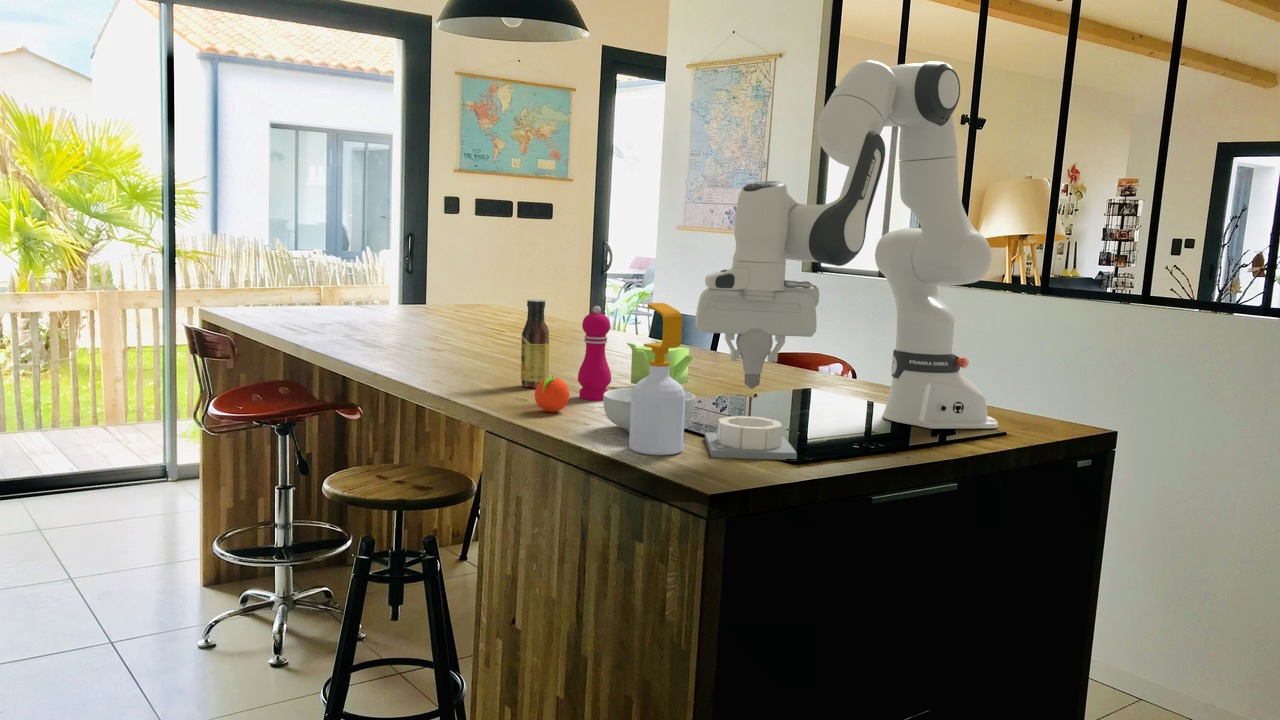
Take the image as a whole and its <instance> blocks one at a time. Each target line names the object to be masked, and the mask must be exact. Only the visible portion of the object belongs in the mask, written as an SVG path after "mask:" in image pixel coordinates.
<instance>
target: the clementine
mask: <svg viewBox="0 0 1280 720" xmlns="http://www.w3.org/2000/svg"><path fill="white" fill-rule="evenodd" d="M569 399H570V388H569V387H568V385H567V383H566V382H565V381H564V380H562V379H561V378H558V377H554V376H552V377H548V378H545V379H544V380H542V381H541V382H540V383H539V384H538V385H537V387H536V388H534V400H535V403H536V404H537V406H538V407H539V408H540V409H541V410H543V411H545V412H547V413H556V412H560V411H561V410H563V409H564V408H565V407H566V406H567V405H568V402H569Z"/></svg>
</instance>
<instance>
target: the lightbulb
mask: <svg viewBox="0 0 1280 720" xmlns="http://www.w3.org/2000/svg"><path fill="white" fill-rule="evenodd" d="M736 335H737V336H736V341H735V343H736V348H737V349H738V350H739V351H740V359H741V360H742V367H743V369H742V370H743V373H744V385H745V386H747V387H748V389H751V390H753V389H756V387H758V386H759V385H760V384H761V383H760V382H761V374H762V373H763V369H764V363H765V361H766V360H767V357H768V354H769V352H770V351H772V348H773V344H774V343H773V342H774V340H773V335H769V334H767V333H766V332H765V331H763V330H761V329H750V330H748V331H747V332H745V333H744V334H736Z"/></svg>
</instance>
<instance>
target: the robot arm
mask: <svg viewBox="0 0 1280 720" xmlns="http://www.w3.org/2000/svg"><path fill="white" fill-rule="evenodd" d="M960 96H961V83H960V79H959V76H958V74H957V72H956V71H955V69H954V68H953V67H952V66H951V65H950V64H949V63H946V62H943V61H931V60H930V61H926V62H921V63H919V62H916V63H902V64H897V65H895V66H890V67H889V66H887V65H885V64H884V63H882V62H880V61H876V60H863V61H859V62H858V63H857V64H855V65H853V66H852V67H851V68H850V70H848V72H847V73H846V74H845V75H844V77H843V78H842V79H841V80H840V81H839V83H838V85H837V86H836V87H835V88H834V90H833V92H832V93H831V95H830V97H829V99H828V101H827V103H826V104H825V106H824V107H823V110H822V112H821V113H820V115H819V118H818V121H817V125H816V135H817V136H816V137H817V139H818V140H817V141H818V142H819V146H821V148H822V150H823V151H824V152H825V154H827V156H828V157H830V158H831V159H832V160H834V161H835V162H837V163H838V164H841V165H844V166H845V167H848V170H847V173H846V176H845V179H844V182H843V185H842V189H841V192H840V195H839V197H838V198H836V199H835V200H834V201H831V202H829V203H825V204H803V203H800V202H799V201H797V200H796V199H794V198H793V197H792V196H791V195H790V194H789V193H788V188H787V185H786V183H784V182H781V181H775V180H773V181H772V180H771V181H769V180H768V181H767V180H766V181H757V182H752V183H748V184H745V185H744V186H743V187H742V188H741V190H740V192H739V195H738V198H737V203H736V204H737V205H736V209H735V216H734V229H733V230H734V231H733V232H734V234H733V235H734V239H735V252H734V254H733V258H732V266H731V268H728V269H722V270H720V271H717V272H713V273H710V274H707V275H706V276H705V280H704V282H705V286H706V287H707V288H705V289H704V290H703V291H702V292H701V294H700V295H699V299H698V303H697V307H696V312H695V313H696V314H695V323H694V324H695V328H696V329H697V330H698V331H699V332H700V333H707V334H724V340H725V342H726V344H727V346H728V347H729V349H730V353H729V354H730V356H729V357H730V361H732V362H734V361H735V362H740V361H741V355H740V351H739V350H738V349H736V348H735V346H734V345H733V343H732V341H735V335H738V334H744V333H745V332H747V331H748V330H750V329H761V330H763V331H765V332H766V333H767V334H769V335H771V336H774V337H775V338H774V341H775V342H777V343H776V344H775V346H774V347H773V349H771V350H770V352H769V354H768V356H767V357H766V362H768V363H777V362H778V354H779V352H780V351H781V349H782V348H783V347H784V345H785V344H786V337H802V338H803V337H804V338H806V337H807V338H808V337H809V338H810V337H811V338H812V337H813V336H814V335H815V333H817V328H818V327H817V325H818V324H817V323H818V321H817V309H816V308H817V306H818V305H819V302H820V290H819V287H817V285H815V284H813V283H812V282H811V281H807V280H804V281H796V280H786V266H787V260H788V261H797V262H812V263H821V264H825V265H831V266H836V267H841V266H846V265H847V264H848V263H850V262H851V261H853V260H854V259H855V258H856V257H857V255H859V254H860V252H861V250H862V249H863V246H864V243H865V239H866V232H867V225H868V224H867V223H868V218H869V215H870V211H871V208H872V205H873V202H874V198H875V195H876V193H877V189H878V186H879V182H880V178H881V176H882V172H883V168H884V164H885V159H886V145H885V141H884V139H883V138H882V136H881V133H882V131H883V129H884V127H899V128H900V129H899V131H900V132H899V141H898V143H899V146H898V160H899V161H898V163H899V164H898V166H899V192H900V193H899V194H900V199H901V201H902V203H903V204H904V206H906V207H907V208H908V209H909V210H911V211H912V212H913V213H914V215H915V217H916V218H917V221H918V223H919V226H920V227H917V228H915V227H907V228H906V227H905V228H900V229H896V230H892V231H889V232H886V233H885V234H883V235H882V236H881V237H880V239H879V241H878V242H877V245H876V247H875V251H874V259H875V265H876V266H877V269H878V270H879V272H880V274H882V275H883V276H884V277H885V278H886V280H887V282H888V284H889V285H890V288H891V291H892V294H893V297H894V302H895V308H896V317H897V318H896V341H895V348H894V349H893V353H892V358H891V370H890V371H891V376H892V377H891V378H892V379H891V386H890V391H889V394H888V399H887V401H886V405H885V408H884V410H883V413H882V418H884V419H886V420H888V421H892V422H896V423H901V424H906V425H912V426H917V427H922V428H926V429H935V430H937V429H939V430H940V429H943V430H944V429H997V428H998V427H999V423H998V420H996V419H995V418H994V417H992V416H989V415H988V409H987V408H988V407H987V401H986V397H985V394H984V393H983V392H982V391H981V390H980V389H979V388H978V387H976V385H975V384H973V383H972V382H971V381H970V380H969V379H968V378H966V376H964V375H963V374H962V373H961V372H960V369H961V368H963V369H966V368H967V367H968V366H969V364H970V362H969V361H970V360H969V359H968V358H966V357H964V356H957V355H956V354H954V353H953V346H954V345H953V344H954V341H953V340H954V330H955V329H954V328H955V316H954V312H953V311H952V310H951V308H950V307H948V306H947V305H946V304H945V303H944V302H943V301H942V298H941V296H940V294H939V289H938V285H945V286H962V285H968V284H973V283H977V282H979V281H981V280H982V279H983V278H984V277H985V276H986V274H987V273H988V271H989V269H990V266H991V263H992V250H991V249H992V248H991V246H990V244H989V241H988V240H987V239H986V237H984V236H983V235H982V234H981V233H980V232H979V231H977V229H976V228H975V226H973V223H971V221H970V219H969V216H968V215H967V213H966V209H965V208H964V205H963V202H962V199H961V193H960V184H959V164H958V163H959V161H958V159H959V158H958V143H957V142H958V141H957V135H956V128H955V122H954V117H953V113H954V111H955V110H956V108H957V106H958V103H959V101H960V100H959V99H960Z"/></svg>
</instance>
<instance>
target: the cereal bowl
mask: <svg viewBox="0 0 1280 720" xmlns="http://www.w3.org/2000/svg"><path fill="white" fill-rule="evenodd" d="M632 389H633V387H622V388H621V387H620V388H614V389H610V390H608V391H607V392H605V393H604V394H603V400H602V401H603V409H604V413H605V414H606V415H605V416H606V418H608V420H609V421H610V422H611V423H612V424H614V425H616V426H618V427H620V428H623V429H625V430H626V432H628V433H629V434H630V411H631V391H632ZM684 391H685V390H684ZM685 394H686V398H685V419H684V425H686V424H687V423H688V422H689V421H690V420H691V419H692V417H693V416H694V413H695V408H696V398H697V397H696V395H695V394H694V393H692V392H689V391H685Z"/></svg>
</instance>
